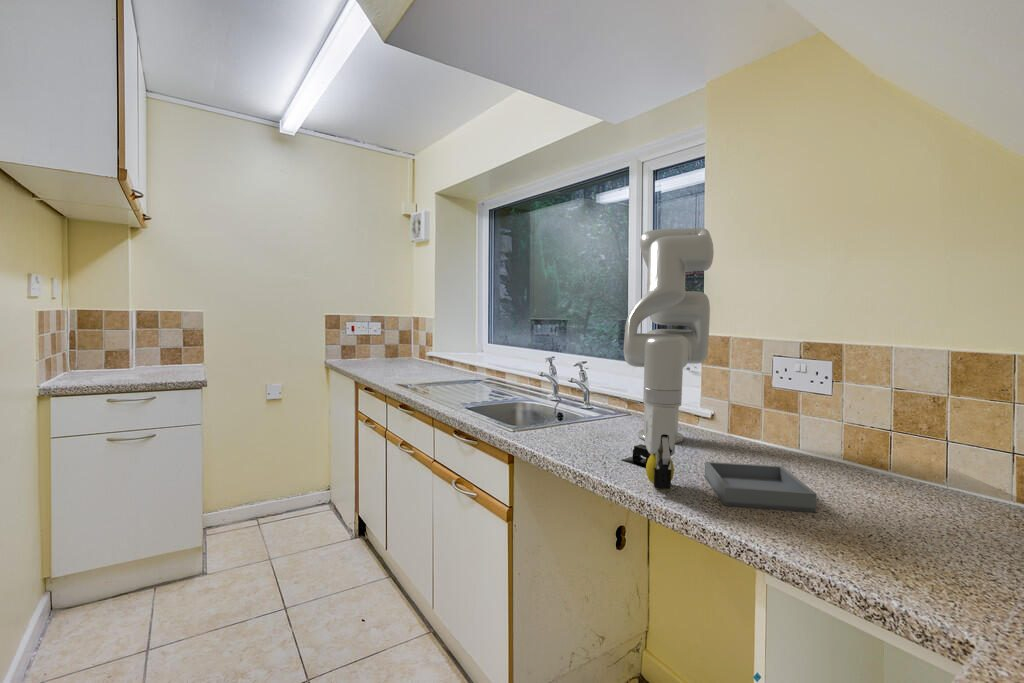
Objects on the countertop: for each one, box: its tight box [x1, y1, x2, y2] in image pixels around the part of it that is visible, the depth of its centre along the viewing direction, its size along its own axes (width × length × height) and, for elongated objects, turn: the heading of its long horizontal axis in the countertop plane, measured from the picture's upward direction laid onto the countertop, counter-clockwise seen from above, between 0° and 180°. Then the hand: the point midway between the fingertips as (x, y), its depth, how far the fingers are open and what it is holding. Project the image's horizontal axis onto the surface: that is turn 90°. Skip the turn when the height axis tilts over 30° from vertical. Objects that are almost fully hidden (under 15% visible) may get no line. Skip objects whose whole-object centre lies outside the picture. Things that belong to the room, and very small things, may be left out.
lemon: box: [645, 451, 675, 485], centre depth 100 cm, size 6×6×8 cm
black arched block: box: [620, 443, 650, 469], centre depth 116 cm, size 12×7×5 cm, turn 38°
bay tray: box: [704, 461, 817, 513], centre depth 98 cm, size 16×16×4 cm
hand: (659, 480), depth 100 cm, fingers open, 6 cm apart
